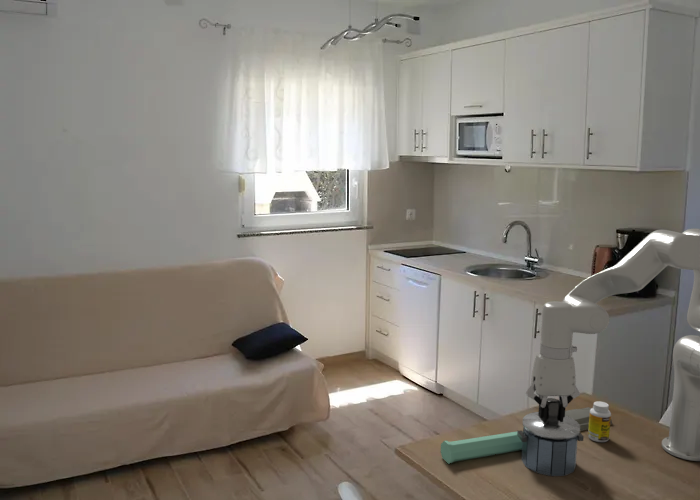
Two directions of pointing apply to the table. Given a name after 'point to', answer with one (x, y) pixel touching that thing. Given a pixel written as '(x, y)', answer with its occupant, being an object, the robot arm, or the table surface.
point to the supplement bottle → (599, 422)
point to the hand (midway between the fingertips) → (551, 419)
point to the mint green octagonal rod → (480, 447)
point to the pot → (549, 453)
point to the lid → (551, 423)
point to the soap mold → (580, 417)
